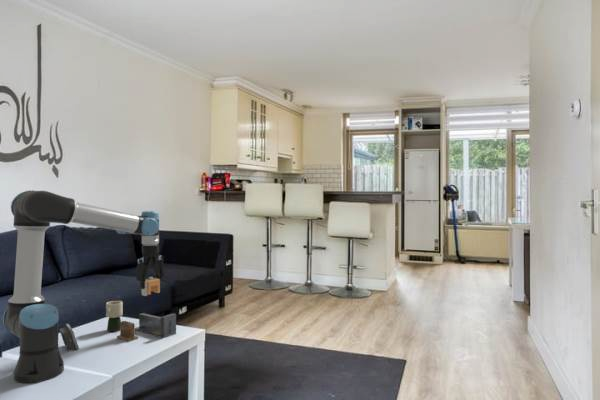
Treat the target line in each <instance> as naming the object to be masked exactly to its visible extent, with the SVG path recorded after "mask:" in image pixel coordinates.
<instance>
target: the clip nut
mask: <svg viewBox="0 0 600 400" xmlns="http://www.w3.org/2000/svg"><path fill="white" fill-rule="evenodd" d="M155 278H156V277H155ZM155 278H154V277H153V276H148V279H147V278H146V280H145V281H146V282H147V296H149V295H152V292H154V293H156V292H161V284H160V279H155ZM140 290H141V291H140V293H141V294H142V289H141V288H140Z"/></svg>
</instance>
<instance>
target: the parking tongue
mask: <svg viewBox="0 0 600 400" xmlns="http://www.w3.org/2000/svg"><path fill="white" fill-rule="evenodd" d="M119 332H120V334H119V335H117V336H116V339H118V340H121V341H123V342H124V341H125V342H127V343H129V342H132V341H134V340H135V341H136V340H138V339H139V336H138V335H135V323H134V322H130V321H127V320H122V321H121V322H120V331H119Z"/></svg>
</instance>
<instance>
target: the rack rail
mask: <svg viewBox="0 0 600 400" xmlns="http://www.w3.org/2000/svg"><path fill="white" fill-rule="evenodd" d="M135 331H137V332H139V333H143V334H146V335H150V336H155V337H158V338H162V339H166V338H168V337H171V336H173V335H176V334H177V314H176V313H169V314H166V315H164V316H157V315H152V314H148V313H145V312H142V313H139V314H138V327H137V326H136V327H134V332H135Z"/></svg>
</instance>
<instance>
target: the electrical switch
mask: <svg viewBox="0 0 600 400" xmlns="http://www.w3.org/2000/svg"><path fill="white" fill-rule="evenodd" d="M58 331H59V333H60V335H61V337H62V340H63V344H64V346H65V348H66V347H67V348H66V349H67V351H68V352H70V351H73V350H79V349H80V348H79V347H80V346H79V345H78V341H77V338H76V335H75V332H74V330H73V328H72V326H71V325H70V324H69V323H66V324H65V326H64V327H62V328H58Z"/></svg>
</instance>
